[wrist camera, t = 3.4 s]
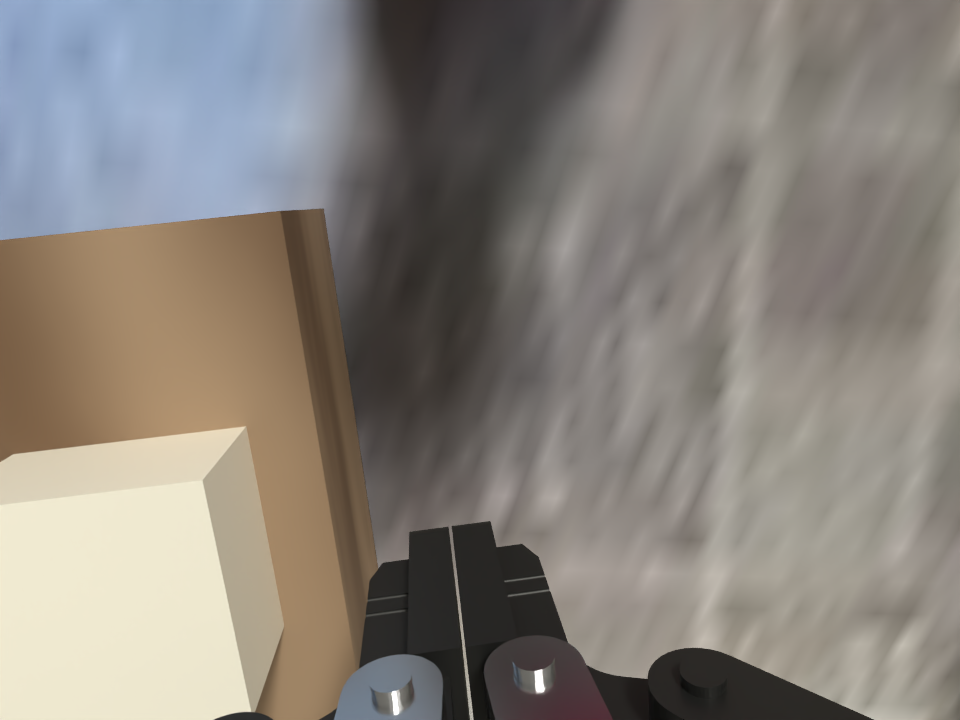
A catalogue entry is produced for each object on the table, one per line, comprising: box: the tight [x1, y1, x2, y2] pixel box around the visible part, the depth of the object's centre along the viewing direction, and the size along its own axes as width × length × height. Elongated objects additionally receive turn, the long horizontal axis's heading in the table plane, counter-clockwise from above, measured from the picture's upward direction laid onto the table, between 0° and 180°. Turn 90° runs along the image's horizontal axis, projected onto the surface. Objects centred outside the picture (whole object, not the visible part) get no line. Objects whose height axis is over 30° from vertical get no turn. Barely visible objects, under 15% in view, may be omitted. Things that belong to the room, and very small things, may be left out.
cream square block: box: [0, 426, 284, 720], centre depth 14 cm, size 5×5×3 cm
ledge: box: [0, 209, 378, 720], centre depth 18 cm, size 11×14×6 cm
